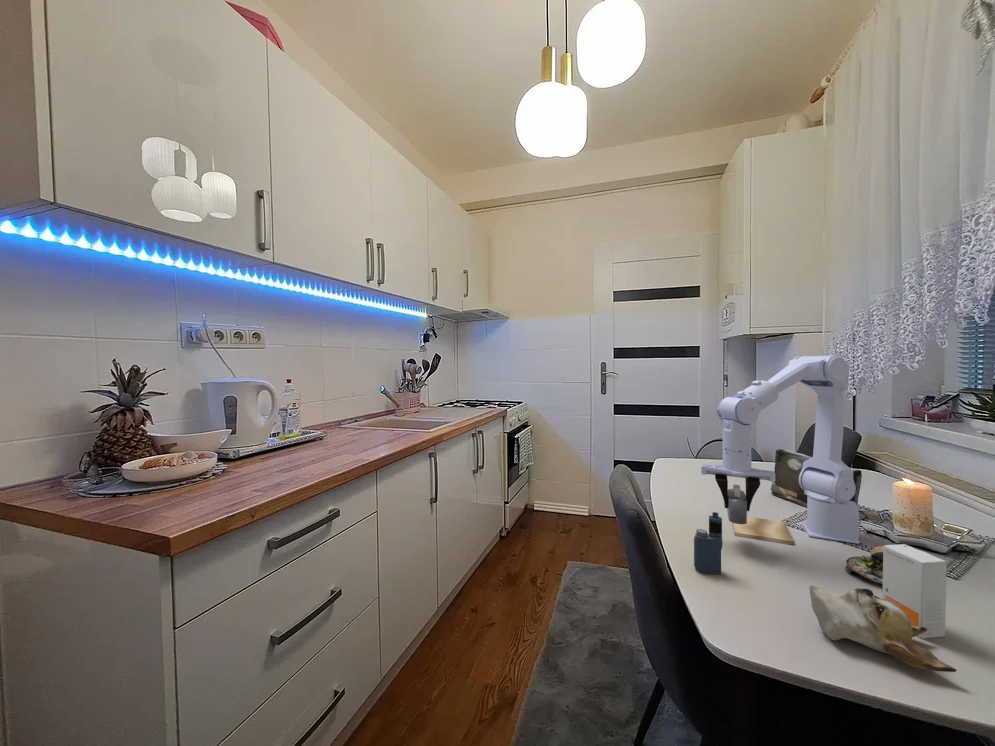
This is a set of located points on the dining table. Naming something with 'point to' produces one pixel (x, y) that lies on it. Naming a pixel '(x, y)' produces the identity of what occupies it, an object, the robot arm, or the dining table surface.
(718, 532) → the vaping device
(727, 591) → the dining table surface
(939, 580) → the skincare box
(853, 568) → the burger
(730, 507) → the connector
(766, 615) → the dining table surface
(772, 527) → the oak board
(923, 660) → the ceramic sculpture
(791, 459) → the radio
